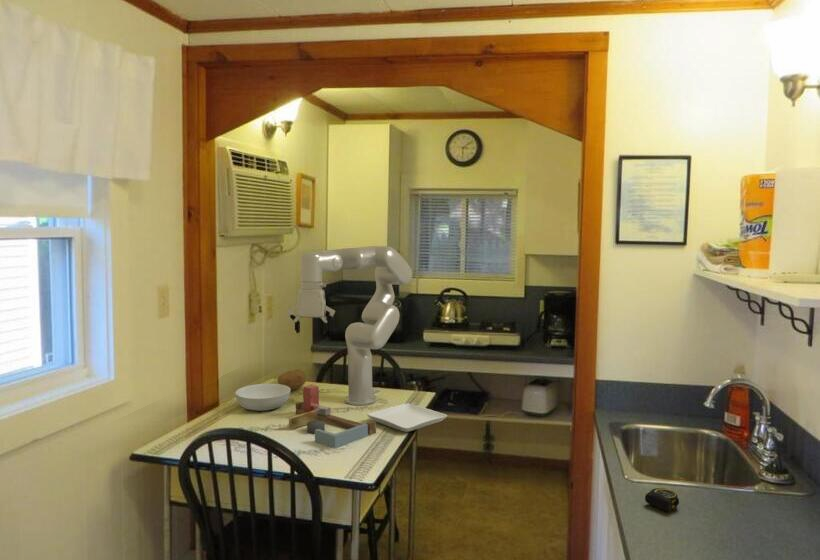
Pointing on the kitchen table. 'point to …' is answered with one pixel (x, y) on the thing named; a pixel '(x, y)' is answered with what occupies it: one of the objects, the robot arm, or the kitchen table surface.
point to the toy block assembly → (309, 407)
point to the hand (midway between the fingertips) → (311, 333)
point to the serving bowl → (263, 396)
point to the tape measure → (662, 499)
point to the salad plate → (407, 417)
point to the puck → (315, 426)
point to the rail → (338, 420)
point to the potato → (292, 379)
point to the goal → (341, 436)
